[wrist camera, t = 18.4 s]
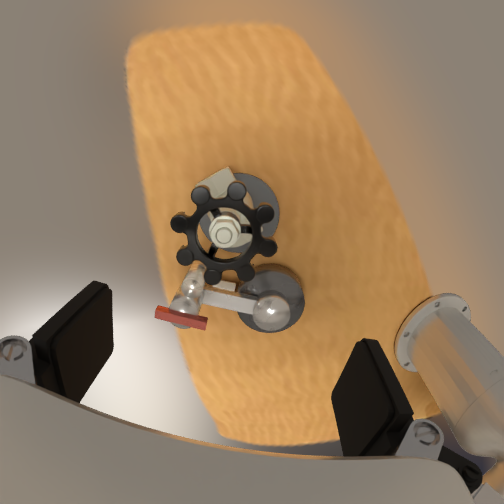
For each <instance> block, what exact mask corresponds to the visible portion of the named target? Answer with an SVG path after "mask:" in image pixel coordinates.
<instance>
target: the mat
mask: <svg viewBox="0 0 504 504" xmlns="http://www.w3.org/2000/svg"><path fill="white" fill-rule="evenodd" d="M233 175H234V177H235V178H236V180H238V181H241V182H243V183H244V184H245V186H246V190H247V192H248V193H249V195H250V196H251V199H252V202H253V207H254V208H256V207H257V206H258V205H259V203H261V202H267V203H269V204H270V205H271V206H272V207H273V209H274V212H275V216H274V218H273V220H272V221H271V222H269V223H264V224H263V225H262V228H263V231H262V233H261V234H262V236H264V237H269V236H272V235H273V234H274V232H275V230H276V228H277V225H278V221H279V205H278V202H277V199H276V196H275V195H274V193H273V191H272V190H271V188H270V187H269V186H268V185H267V184H266V183H265V182H263V181H262V180H260V179H259V178H257V177H255V176H252V175H249V174H243V173H234V174H233ZM210 225H211V221H210V218H209V216H208V214H207V213H206V214H205V215H204V216H203V217H202V218H201V220H200V226H201V228H202V230H203V232H204V234H205V235H206V237H207V238H208V239H209V240H210V241H211V242H213V241H212V239H211V238H210V235H209V227H210ZM250 242H251V241H250ZM250 242H248V243H246V244H244V245H242V246H239V247H232V248H221V249H223V250H226V251H230V252H236V253H242V252H244V251H245V250H246V249H247V248H248V246H249V244H250Z"/></svg>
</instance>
